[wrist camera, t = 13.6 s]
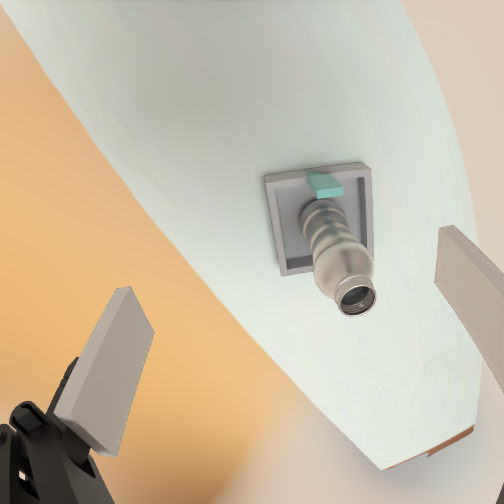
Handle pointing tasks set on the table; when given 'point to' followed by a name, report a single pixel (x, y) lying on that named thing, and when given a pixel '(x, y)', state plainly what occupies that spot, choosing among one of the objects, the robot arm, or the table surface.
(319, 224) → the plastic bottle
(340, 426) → the table surface
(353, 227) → the tray
